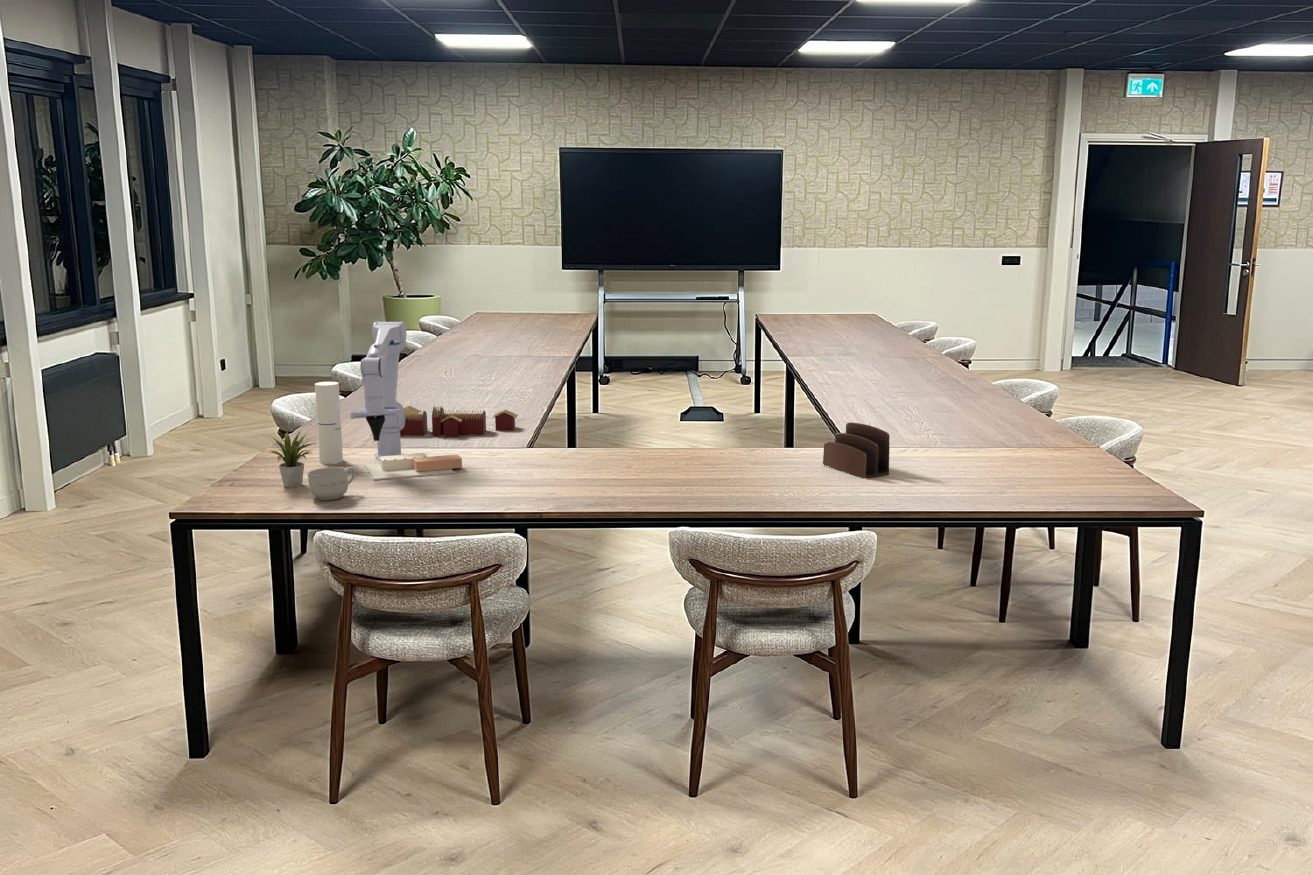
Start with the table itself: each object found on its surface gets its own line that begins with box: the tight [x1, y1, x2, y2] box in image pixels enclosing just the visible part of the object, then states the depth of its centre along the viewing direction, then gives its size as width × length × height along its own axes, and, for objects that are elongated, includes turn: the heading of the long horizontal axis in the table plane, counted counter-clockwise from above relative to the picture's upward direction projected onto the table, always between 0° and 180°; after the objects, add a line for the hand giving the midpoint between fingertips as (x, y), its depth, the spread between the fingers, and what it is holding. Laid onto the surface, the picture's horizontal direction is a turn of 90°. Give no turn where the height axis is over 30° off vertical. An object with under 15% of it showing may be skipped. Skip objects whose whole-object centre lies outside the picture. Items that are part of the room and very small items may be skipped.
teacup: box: [307, 466, 357, 501], centre depth 317 cm, size 14×11×8 cm
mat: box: [364, 463, 455, 481], centre depth 349 cm, size 19×24×1 cm
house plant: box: [269, 430, 318, 489], centre depth 327 cm, size 14×14×16 cm
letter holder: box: [822, 422, 891, 479], centre depth 350 cm, size 10×20×14 cm, turn 32°
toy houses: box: [400, 405, 519, 439], centre depth 404 cm, size 45×20×10 cm, turn 92°
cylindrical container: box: [314, 381, 344, 465], centre depth 357 cm, size 7×7×25 cm
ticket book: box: [378, 452, 429, 470], centre depth 351 cm, size 6×14×3 cm, turn 112°
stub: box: [413, 453, 463, 472], centre depth 349 cm, size 6×14×3 cm, turn 112°
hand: (376, 440), depth 346 cm, fingers closed
